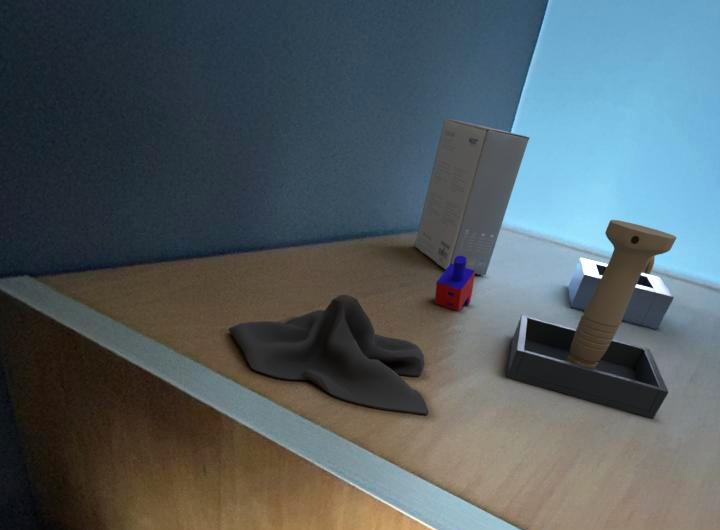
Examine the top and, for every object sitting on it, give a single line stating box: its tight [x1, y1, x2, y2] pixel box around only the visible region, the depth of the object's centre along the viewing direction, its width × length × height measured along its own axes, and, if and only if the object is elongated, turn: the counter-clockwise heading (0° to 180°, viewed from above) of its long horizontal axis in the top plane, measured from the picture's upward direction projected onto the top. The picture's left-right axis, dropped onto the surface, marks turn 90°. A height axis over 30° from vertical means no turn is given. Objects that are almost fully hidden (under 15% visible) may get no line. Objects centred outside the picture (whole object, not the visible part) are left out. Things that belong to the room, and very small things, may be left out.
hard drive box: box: [414, 117, 531, 276], centre depth 94 cm, size 16×8×20 cm, turn 15°
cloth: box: [228, 294, 430, 416], centre depth 55 cm, size 22×19×6 cm
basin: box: [506, 314, 669, 419], centre depth 65 cm, size 16×14×3 cm
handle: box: [566, 219, 677, 369], centre depth 61 cm, size 5×6×15 cm
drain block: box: [567, 257, 675, 330], centre depth 92 cm, size 13×13×5 cm
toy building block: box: [434, 256, 476, 312], centre depth 77 cm, size 4×4×8 cm
